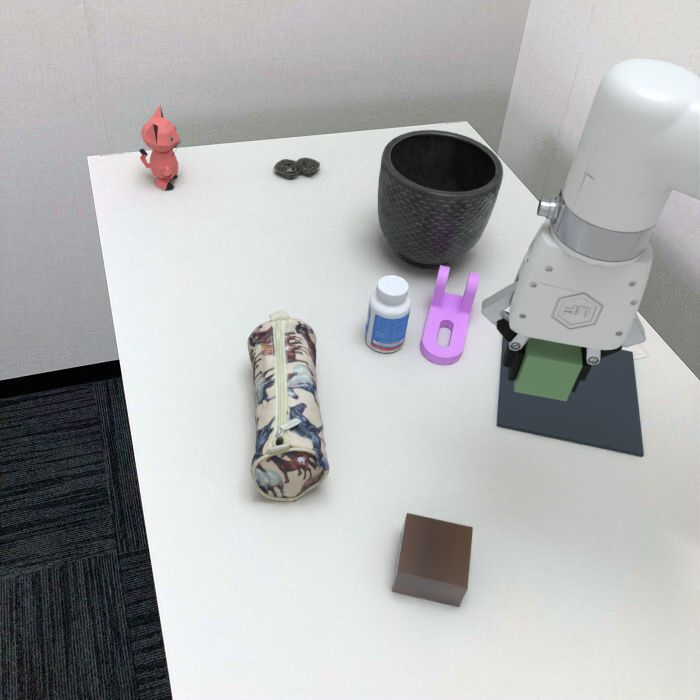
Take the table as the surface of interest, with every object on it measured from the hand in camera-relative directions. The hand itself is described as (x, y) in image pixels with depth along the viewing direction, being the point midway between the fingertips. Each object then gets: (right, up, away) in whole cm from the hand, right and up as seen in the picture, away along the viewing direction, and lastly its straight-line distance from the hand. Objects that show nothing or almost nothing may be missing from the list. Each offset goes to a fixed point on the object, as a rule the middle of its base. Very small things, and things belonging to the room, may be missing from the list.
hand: (541, 374), depth 71 cm
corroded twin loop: (-28, +33, +55) cm, 70 cm away
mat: (+10, -3, +25) cm, 28 cm away
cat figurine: (-49, +30, +49) cm, 76 cm away
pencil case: (-26, -7, +17) cm, 32 cm away
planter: (-7, +18, +43) cm, 47 cm away
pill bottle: (-14, +4, +29) cm, 32 cm away
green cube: (0, 0, 0) cm, 0 cm away
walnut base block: (-10, -20, +6) cm, 24 cm away
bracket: (-5, +5, +31) cm, 32 cm away
